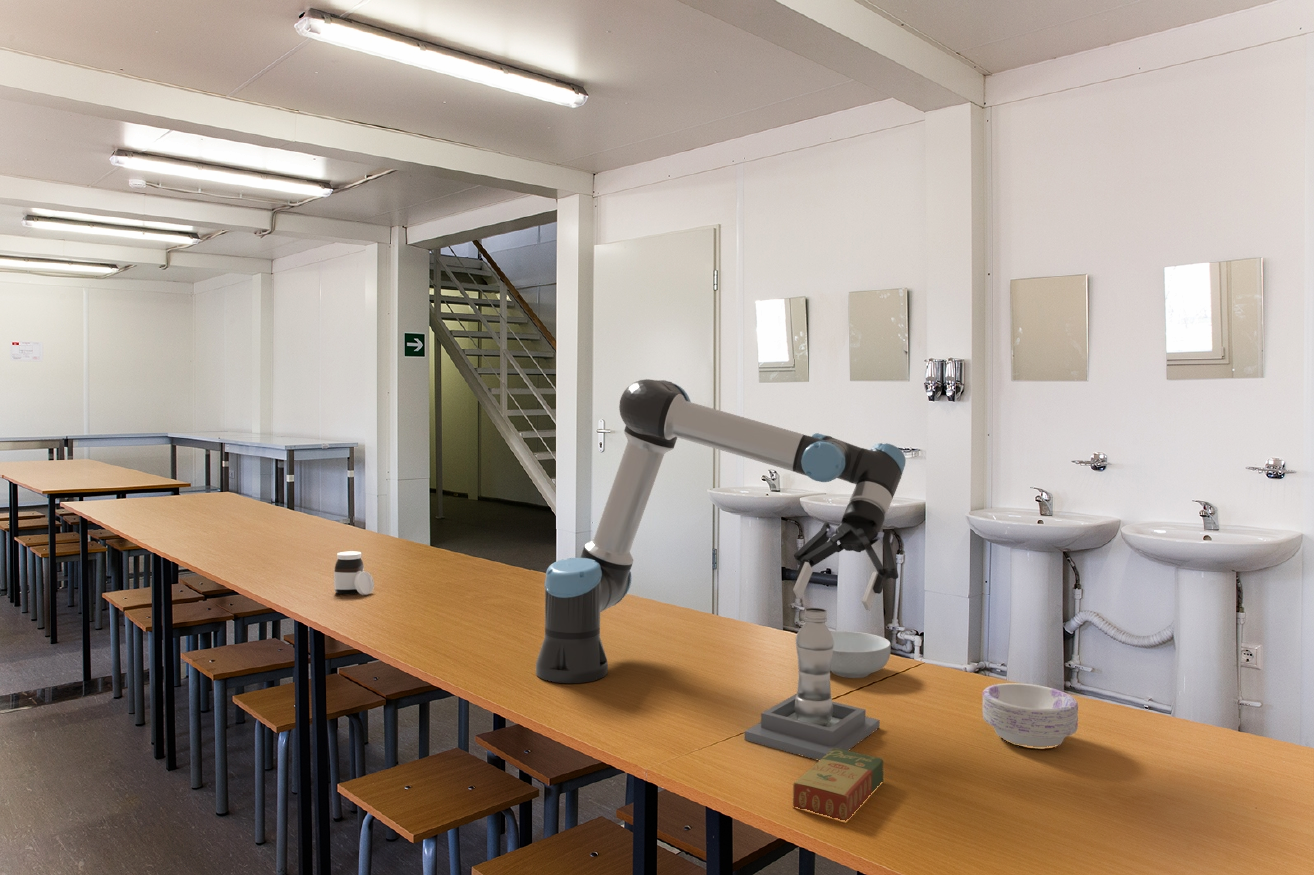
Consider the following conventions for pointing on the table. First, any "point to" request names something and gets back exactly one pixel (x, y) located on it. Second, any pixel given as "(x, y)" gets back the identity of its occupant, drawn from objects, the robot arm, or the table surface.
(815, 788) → the carton
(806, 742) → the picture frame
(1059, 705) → the paper bowls
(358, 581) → the spread jar
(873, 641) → the cereal bowl
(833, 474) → the robot arm
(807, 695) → the plastic bottle
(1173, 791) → the table surface
